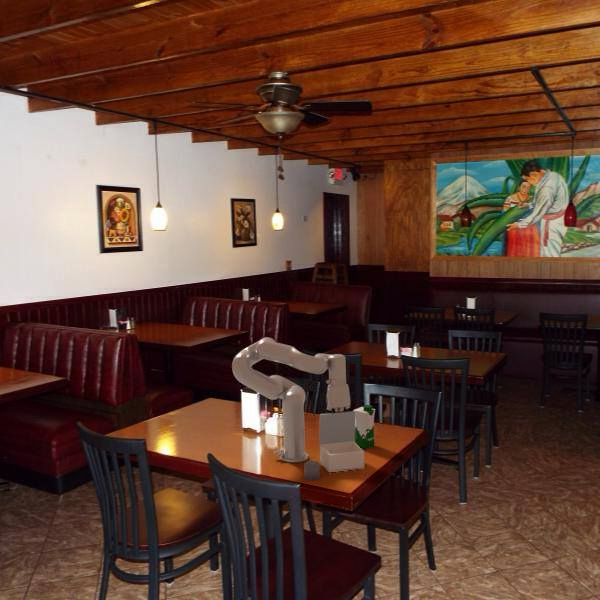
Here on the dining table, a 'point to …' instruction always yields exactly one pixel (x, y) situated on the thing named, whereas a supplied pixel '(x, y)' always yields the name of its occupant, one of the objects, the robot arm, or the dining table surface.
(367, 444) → the milk carton
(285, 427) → the robot arm
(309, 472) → the gray cube
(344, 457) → the box
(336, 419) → the lid
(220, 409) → the dining table surface
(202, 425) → the dining table surface
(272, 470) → the dining table surface
